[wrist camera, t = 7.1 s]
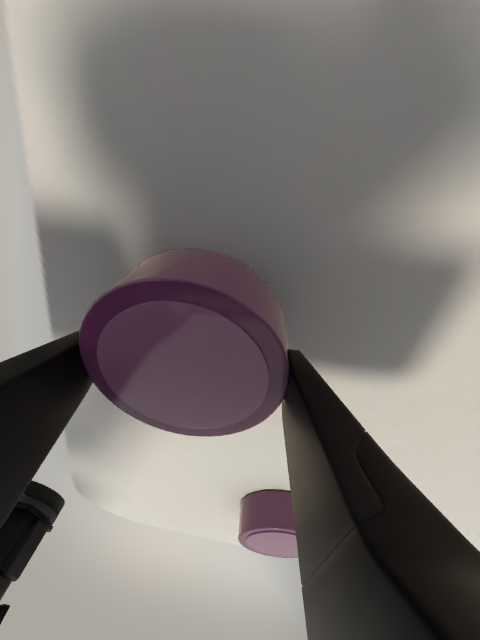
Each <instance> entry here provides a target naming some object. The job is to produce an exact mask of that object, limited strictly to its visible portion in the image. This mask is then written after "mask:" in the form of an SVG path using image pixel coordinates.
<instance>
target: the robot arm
mask: <svg viewBox="0 0 480 640" xmlns="http://www.w3.org/2000/svg"><path fill="white" fill-rule="evenodd" d="M78 342H79V331H77V332H75V333H72V334H70V335H67V336H65V337H62V338H60V339H57V340H55V341H52V342H50V343H47V344H45V345H42V346H40V347H37V348H35V349H32V350H30V351H28V352H25V353H22V354H20V355H18V356H15V357H13V358H10V359H8V360H5V361H3V362H0V600H1V598H2V597H3V595H4V593H5V592H6V590H7V588H8V587H9V585H10V583H11V582H12V581H16V580H17V579H18V578H19V577H20V575H21V573H22V572H23V570H24V568H25V567H26V565H27V563H28V562H29V560H30V558H31V557H32V555H33V553H34V552H35V550H36V548H37V546H38V545H39V543H40V542H41V540H42V538H43V536H44V535H45V533H46V532H50V531H51V530H52V528H53V526H52V525H51V524H50V523H49V522H48V521H47V520H46V519H45V518H44V516H43V515H42V514H41V513H40V512H39V511H38V510H37V509H36V508H35V507H34V506H33V505H31V504H27V503H20V502H18V500H19V499H20V497H21V496H22V494H23V493H24V491H25V489H26V488H27V486H28V485H29V483H30V482H31V480H32V478H33V477H34V475H35V474H36V472H37V471H38V469H39V467H40V466H41V464H42V463H43V461H44V460H45V458H46V456H47V455H48V453H49V452H50V450H51V449H52V447H53V445H54V444H55V442H56V441H57V439H58V438H59V436H60V434H61V433H62V431H63V430H64V428H65V427H66V425H67V423H68V422H69V420H70V419H71V417H72V416H73V414H74V412H75V411H76V409H77V408H78V406H79V405H80V403H81V401H82V400H83V398H84V397H85V395H86V393H87V392H88V390H89V388H90V387H91V385H92V383H93V381H92V380H91V378H90V377H89V375H88V373H87V371H86V369H85V367H84V364H83V362H82V359H81V356H80V351H79V343H78ZM288 356H289V365H290V378H289V383H288V387H287V390H286V394H285V397H284V398H283V400H282V419H283V428H284V437H285V446H286V454H287V463H288V472H289V480H290V489H291V497H292V506H293V515H294V523H295V532H296V541H297V549H298V558H299V567H300V575H301V584H302V586H303V587H302V593H303V602H304V610H305V619H306V628H307V636H308V640H480V551H478V550H477V549H476V548H475V547H474V546H473V545H472V544H471V543H470V542H469V541H468V540H467V539H466V538H465V537H464V536H463V535H462V534H461V533H460V532H459V531H458V530H457V529H456V528H455V527H454V526H453V524H452V523H451V522H450V521H449V520H448V519H447V518H446V517H445V516H444V515H443V514H442V513H441V512H440V511H439V510H438V509H437V508H436V507H435V506H434V505H433V504H432V503H431V502H430V501H429V500H428V499H427V498H426V497H425V496H424V494H423V493H422V492H421V491H420V490H419V489H418V488H417V487H416V486H415V485H414V484H413V483H412V482H411V481H410V480H409V479H408V478H407V477H406V476H405V475H404V473H403V472H402V471H401V470H400V469H399V468H398V467H397V466H396V465H395V464H394V463H393V462H392V461H391V459H390V458H389V457H388V456H387V455H386V454H385V452H384V451H383V450H382V449H381V448H380V447H379V446H378V444H377V443H376V442H375V441H374V440H373V438H372V437H371V436H370V435H369V434H368V432H365V429H364V428H363V427H362V425H361V424H360V423H359V422H358V421H357V419H356V418H355V417H354V416H353V414H352V413H351V412H350V411H349V410H348V408H347V407H346V406H345V405H344V404H343V402H342V401H341V400H340V399H339V398H338V396H337V395H336V394H335V393H334V392H333V390H332V389H331V388H330V387H329V386H328V384H327V383H326V382H325V381H324V380H323V378H322V377H321V376H320V375H319V374H318V372H317V371H316V370H315V369H314V367H313V366H312V365H311V364H310V363H309V361H308V360H307V359H306V358H305V357H304V355H303V354H302V353H301V352H300V351H299V350H292V349H288ZM9 607H10V605H6V604H2V605H0V624H1V622H2V620H3V618H4V616H5V614H6V613H7V611H8V609H9Z"/></svg>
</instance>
